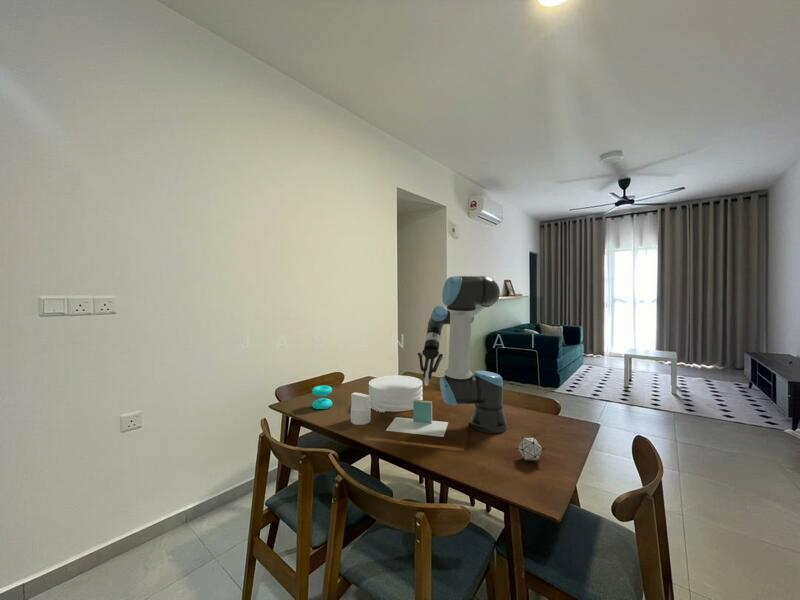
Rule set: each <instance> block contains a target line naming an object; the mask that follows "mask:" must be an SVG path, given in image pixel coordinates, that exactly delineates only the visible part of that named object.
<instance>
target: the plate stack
mask: <svg viewBox="0 0 800 600" xmlns="http://www.w3.org/2000/svg"><path fill="white" fill-rule="evenodd" d="M423 383H424V381H423V380H421V378H418V377H414V376H410V375H398V374H397V375H396V374H395V375H385V376H383V375H382V376H378V377H375V378H372V379H371V380H369V382H368V395H370V407H371V408H372V409H371V410H373V409H374V410H373V411H375V410H376V411H375V412H378V411H379V413H382V412H383V414H384V413H385V412H405V411H406V412H407V411H411V410H412V411H413V401H414V400H424V399H423V395H424V394H423V390H424V389H423Z"/></svg>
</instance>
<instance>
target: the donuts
mask: <svg viewBox="0 0 800 600" xmlns="http://www.w3.org/2000/svg"><path fill="white" fill-rule="evenodd" d="M311 392H312V393H311V394H312V395H314V396H316V397H322V398H317V399H315V400H314V401H313V402H312V403H311V406H312V408H313V409H315V410H318V409H323V410H327V409H330V408H331V407H332V406H333V401H332V400H331V399H329V398H323V397H326V396H329V395H330V394H331V393H333V388H332V387H331V386H329V385H317V386H314V387H313V388H312V389H311ZM329 407H330V408H329Z"/></svg>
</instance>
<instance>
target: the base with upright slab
mask: <svg viewBox="0 0 800 600" xmlns="http://www.w3.org/2000/svg"><path fill="white" fill-rule="evenodd" d="M350 395H351V403H350V404H351V407H350V423H352V424H353V425H356V426H357V425H358V426H361V425H367V424H369V423H371V421H372V419H371V418H372V417H371V415H372V414H371V413H372V411H371V410H372V409H371V407H370V395H369V394H365V393H361V392H353V393H351V394H350Z"/></svg>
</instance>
